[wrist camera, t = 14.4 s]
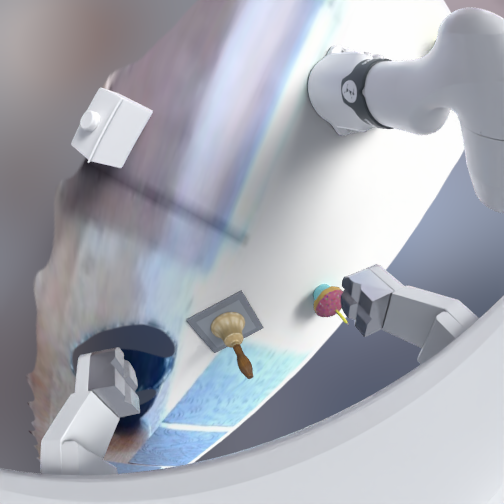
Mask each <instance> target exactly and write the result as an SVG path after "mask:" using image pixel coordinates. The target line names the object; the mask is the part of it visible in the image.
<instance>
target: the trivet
mask: <svg viewBox="0 0 504 504" xmlns="http://www.w3.org/2000/svg"><path fill="white" fill-rule="evenodd" d="M227 312H236V313H239V314H241V315H242V316H243V317H244V319H245V326H244V328H243V330H242V334H243V339H244V338H245V337H247V336H249V335H251V334H253V333H255V332H257V331H259V330H261V329H262V328H263V326H262V324H261V323H260V321H259V319H258V318H257V316H256V314H255V313H254V311H253V309H252V307H251V306H250V304H249V302H248V301H247V299H246V297H245V295H244V294H243V292H242V290H241V291H239V292H237V293H236V294H234V295H232V296H230V297H228V298H226V299H224V300H222V301H221V302H219V303H217V304H215V305H213V306H211V307H209V308H207V309H205V310H203V311H202V312H200V313H198V314H196V315H194V316H192V317H190V318H188V319H187V322H188V323H189V324H190V325H191V326H192V328H193V329H194V330H195V331H196V332H197V333H198V335H199V336H200V337H201V338H202V339H203V340H204V341H205V343H206V344H207V345H208V346H209V347H210V348H211V349H212V350H213V352H214V353H216V352H218V351H220V350H222V349H224V348H226V347H228V346H226V345H225V344H224V342H223V340H222V339H221V338H218V337H216V336H215V335H214V334H213V333H212V331H211V324H212V322H213V320H214V319H215V318H216V317H218V316H219V315H221V314H223V313H227Z"/></svg>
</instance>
